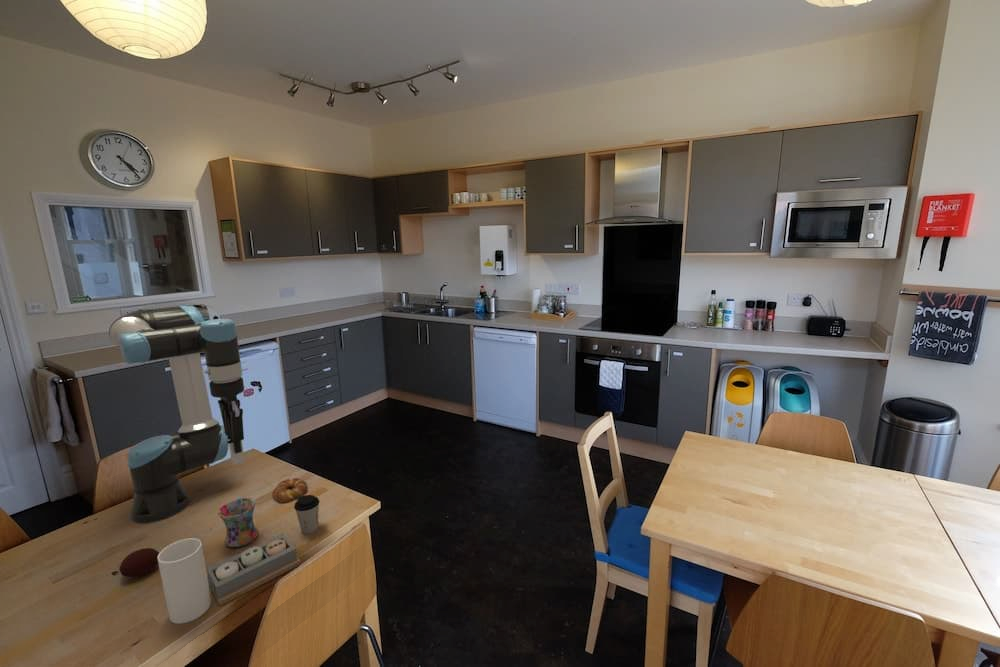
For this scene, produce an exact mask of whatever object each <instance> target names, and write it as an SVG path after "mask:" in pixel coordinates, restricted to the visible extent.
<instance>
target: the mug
mask: <svg viewBox="0 0 1000 667" xmlns="http://www.w3.org/2000/svg"><path fill="white" fill-rule="evenodd" d="M256 504H257V503H256V500H255V499H253V498H252V497H251V498H249V497H241V498H237V499H234V500H231V501H229V502H226V503H225V504H223V505H222V506H221V507H220V508H219V509H218V511H217V514H218V516H219V517H220V518H221V520H222V522H223V523H224V525H225V530H226V536H225V539H224V545H225V546H227V547H229V548H239V547H244V546H246V545H248V544H249V543H251V542H253V541H254V540H255V539H256V538H257V537H258V536H259V535H258V534H259V530H258V529H257V527H256V526H255V524H254V520H253V519H254V510H255V507H256Z"/></svg>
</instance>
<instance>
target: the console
mask: <svg viewBox="0 0 1000 667" xmlns="http://www.w3.org/2000/svg"><path fill="white" fill-rule="evenodd" d="M275 540H284V541H285V543H286V549H285V550H283V551H281V552H279V553H276V554H274V555H272V556H270V557H268V555H267V554H266V546H267V545H268V544H269V543H270V542H272V541H275ZM254 547H261V548H262V553H263V560H262V561H260V562H258V563H256V564H254V565H251V566H249V567H247V568H245V569H244V568H243V566H242V560H241V554H242V553H243V552H244V551H241V552H239V553H238V554H235V555H233V556H230V557H229V558H226V559H225V560H222V561H219V562H217V563H216V564H213V565H211V566H209V567H206V572H207V578H208V584H209V589H210V591H211V593H212V594H213V597H214V598H215V601H216V602H217V605H218V606H219V607H221V606H223V605H225V604H227V603H229V602H231V601H233V600H234V599H237V598H239V597H240V596H243V595H244V594H247V593H249V592H250V591H252V590H254V589H256V588H258V587H260V586H261V585H263V584H266V583H268V582H270V581H272V580H274V579H275V578H277V577H279V576H282V575H283V574H285V573H287V572H289V571H291V570H293V569H295V568H296V567H299V566H300V564H301V560H300V559H299V558H298V556H297V555H298V554H297V549H296V547H295V546H294V545H293V544H292V542H291V541H290V539H288V537H287V536H286V535H285V534H284V533H282V534H279V535H277V536H274V537H273V538H270V539H268V540H266V541H264V542H262V543H259V544H257V545H255V546H254ZM232 561H233V562H237V563H238V568H239V572H237V573H235V574H233V575H231V576H229V577H226V578H224V579H222V580H220V581H217V577H216V570H217V568H218V567H219V566H221V565H222V564H224V563H227V562H232ZM298 565H299V566H298Z"/></svg>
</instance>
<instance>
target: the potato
mask: <svg viewBox="0 0 1000 667" xmlns="http://www.w3.org/2000/svg"><path fill="white" fill-rule="evenodd" d="M159 553H160V552H159V551H158V550H156V549H155V548H152V547H151V548H150V547H147V548H146V547H145V548H140V549H137V550H134V551H132V552H131V553H128V555H126V556H125V557H124V558H123V559H122V561H121V563H120V565H119V573H120V574H121V576H123V577H125V578H129V579H131V578H138V577H140V576H144V575H146V574H148V573H149V572H151V571H152V570H154V569H155V568H156V567H157V566H159V563H158V555H159Z"/></svg>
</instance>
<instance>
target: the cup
mask: <svg viewBox="0 0 1000 667" xmlns="http://www.w3.org/2000/svg"><path fill="white" fill-rule="evenodd" d="M205 562H206V561H205V556H204V551H203V545H202V541H201V540H200V539H198V538H195V537H191V538H184V539H180V540H177V541H175V542H173V543H170V544H168V545H167V546H166V547H164V548H163V549H162V550H161V551H160V552H159V555H158V567H159V572H160V579H161V582H162V584H161V585H162V588H163V594H164V597H165V598H164V599H165V604H166V608H167V614H168V618H169V621H170V622H171V623H173V624H176V625H179V624H180V625H182V624H186V623H189V622H192V621H194V620H196V619H198V618H199V617H201V616H202V615H204V614H205V613H206V612H207V611H208V610H209V608H210V607H211V605H212V597H211V595H212V594H211V588H210V586H209V584H208V578H207V569H206V568H207V566H206V563H205Z"/></svg>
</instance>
